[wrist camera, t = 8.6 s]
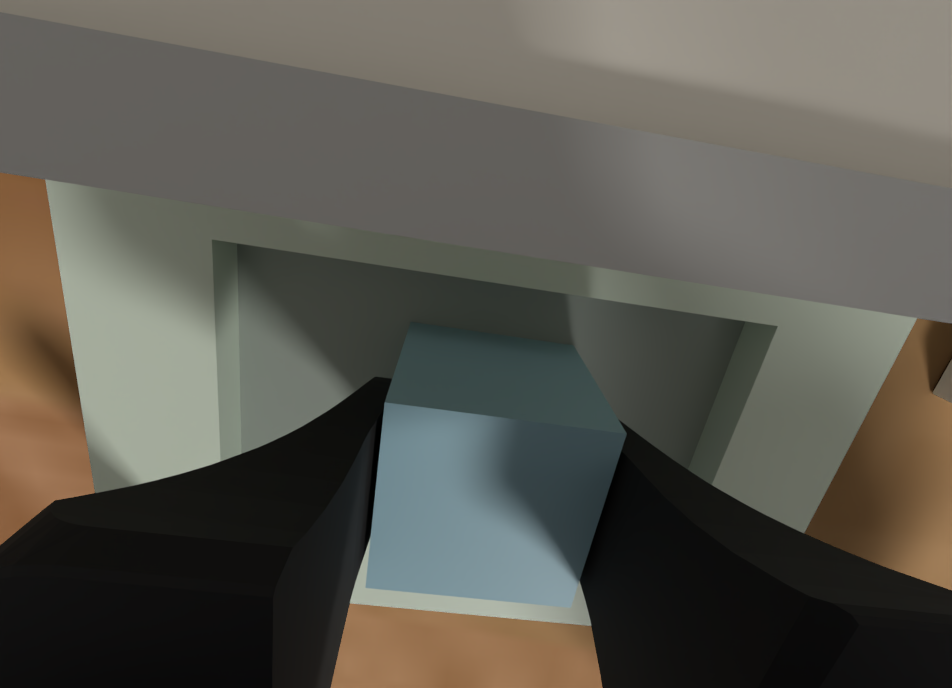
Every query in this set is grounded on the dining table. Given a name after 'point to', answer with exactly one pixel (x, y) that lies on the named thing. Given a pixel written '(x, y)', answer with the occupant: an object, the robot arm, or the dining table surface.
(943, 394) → the dish
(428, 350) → the block
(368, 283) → the puzzle board
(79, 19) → the cover
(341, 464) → the robot arm
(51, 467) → the dining table surface
